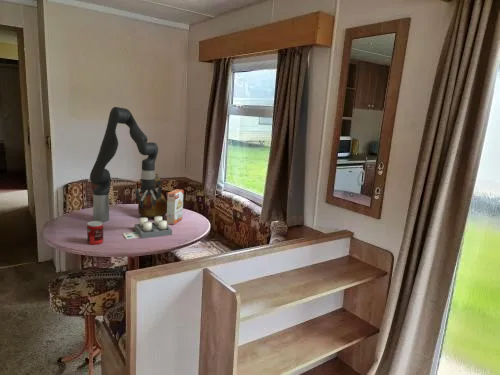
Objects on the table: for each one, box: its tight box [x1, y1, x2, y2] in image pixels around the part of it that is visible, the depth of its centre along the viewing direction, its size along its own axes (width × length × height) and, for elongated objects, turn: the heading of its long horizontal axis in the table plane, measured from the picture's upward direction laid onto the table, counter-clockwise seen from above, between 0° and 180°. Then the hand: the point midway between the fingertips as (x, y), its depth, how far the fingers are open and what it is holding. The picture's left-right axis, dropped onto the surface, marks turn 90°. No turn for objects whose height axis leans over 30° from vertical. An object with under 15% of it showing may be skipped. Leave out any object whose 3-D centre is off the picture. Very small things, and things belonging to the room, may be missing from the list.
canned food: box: [86, 220, 104, 246], centre depth 189 cm, size 8×8×11 cm
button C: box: [143, 221, 153, 232], centre depth 205 cm, size 5×5×5 cm
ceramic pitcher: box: [137, 173, 167, 218], centre depth 240 cm, size 20×20×30 cm
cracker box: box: [166, 188, 184, 226], centre depth 233 cm, size 14×6×21 cm, turn 168°
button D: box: [159, 219, 168, 230], centre depth 210 cm, size 5×5×5 cm
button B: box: [153, 216, 163, 225], centre depth 218 cm, size 5×5×5 cm
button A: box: [138, 216, 149, 227], centre depth 213 cm, size 5×5×5 cm
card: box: [122, 231, 142, 240], centre depth 204 cm, size 9×9×1 cm
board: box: [133, 222, 173, 239], centre depth 212 cm, size 18×17×3 cm
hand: (147, 206), depth 203 cm, fingers open, 6 cm apart
